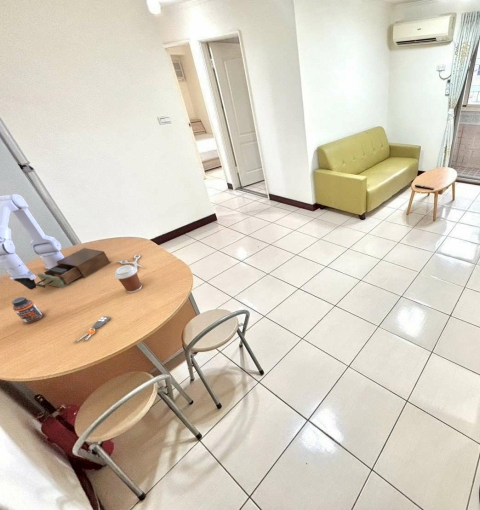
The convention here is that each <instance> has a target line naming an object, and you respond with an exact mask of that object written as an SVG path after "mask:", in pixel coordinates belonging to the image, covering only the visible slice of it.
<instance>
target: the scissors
mask: <svg viewBox="0 0 480 510" xmlns="http://www.w3.org/2000/svg"><path fill="white" fill-rule="evenodd" d="M140 258H141V255H140V254H135V255H134V256H133V259H134V261H128V259H123V260H117V263H120V264H121V265H125V264H126V265H127V264H128V265H130V264H131V265H134V266H133V267H135V268H136V269H137V270H138V267H140V268H144V266H143V265H141V264H139V263H138V260H139V259H140Z"/></svg>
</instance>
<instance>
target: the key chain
mask: <svg viewBox="0 0 480 510" xmlns="http://www.w3.org/2000/svg"><path fill="white" fill-rule="evenodd" d="M109 320H110V317H109V316H105V315H104V316H102V317H100V318H99V319H98V320H97V321H96V322H95V323H94V324H93V325H92V327H90V328H89V329H88V330H87V331H86V332H87V333H85V334H84V335H83V336H81V337H80V338H78V339H77V340H76V342H79V341H80V340H82V339H83V338H85V337H86V338H85V339H84V340H85V341H87V340H88V341H89V338H91V336H92V335H94V334H95V333H96V330H97V329H100V328H101V327H102V326H103V325H105V323H107V322H108V321H109Z"/></svg>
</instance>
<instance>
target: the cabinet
mask: <svg viewBox="0 0 480 510" xmlns="http://www.w3.org/2000/svg"><path fill="white" fill-rule="evenodd" d="M57 264H64V265H69V266H74V267H77V268H78V270H79V271H80V273H81V274H82V276H80V277H79V278H84V279H86V278H88V277H89V276H90V275H92V274H94V273H96V272H97V271H99V270H101V269H102V268H104V267H106V266H107V265H109V264H111V261H110V259H109V258H108V256H107V254H106V252H105V251H104V250H100V249H99V250H98V249H93V248H86V247H83V248H81V249H79V250H77V251H76V252H75V251H74V252H72V253H71V254H69V255H67V256H64V258H63V259H61V260H59V261H57Z"/></svg>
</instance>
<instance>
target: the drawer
mask: <svg viewBox="0 0 480 510" xmlns="http://www.w3.org/2000/svg"><path fill="white" fill-rule="evenodd" d="M55 267H57V268H62V269H67V270H68V271H67V272H65V273H64V274H62V275H60V276H61V278H62V279H60V278H59V277H56V276H54V275H53V273H52V272H51V269H53V268H55ZM53 268H51V269H47V270H45V271H43V273H41V272H39V273H37V274H36V275H37V278H39V279H40V281H37V282H35V284H36V287H40V288H45V287H46V286H47V285H48V286H53V287H57V288H63V289H64V288H66V287H67V286H66V285H68V284H70V283H72V282H73V281H75V280H77V279H78V278H81V277H80V276H82V274H81V273H80V271H79V270H78V268H77V267H74V266H69V265H64V264H58V265H56V266H54V267H53ZM42 283H43V284H42Z"/></svg>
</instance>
